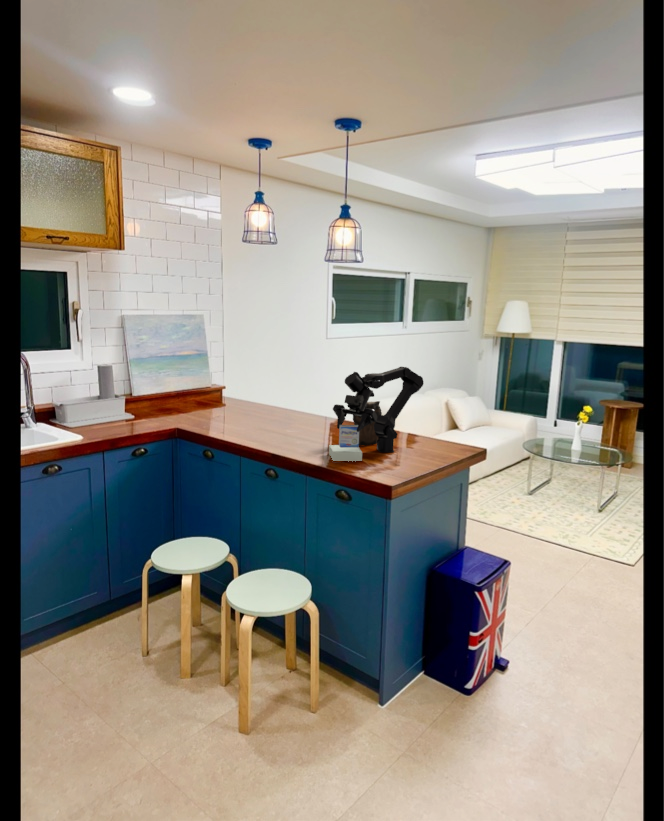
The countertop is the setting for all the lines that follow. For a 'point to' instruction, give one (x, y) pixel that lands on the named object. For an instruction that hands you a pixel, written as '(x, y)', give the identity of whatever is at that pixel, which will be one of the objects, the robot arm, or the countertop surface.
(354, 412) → the robot arm
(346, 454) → the mint block
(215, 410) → the countertop surface
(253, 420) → the countertop surface
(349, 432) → the medicine box
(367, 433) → the owl
